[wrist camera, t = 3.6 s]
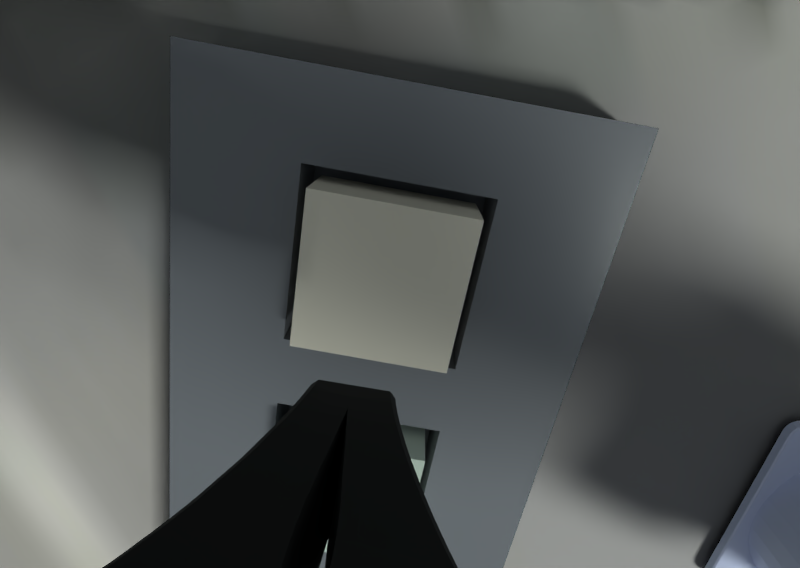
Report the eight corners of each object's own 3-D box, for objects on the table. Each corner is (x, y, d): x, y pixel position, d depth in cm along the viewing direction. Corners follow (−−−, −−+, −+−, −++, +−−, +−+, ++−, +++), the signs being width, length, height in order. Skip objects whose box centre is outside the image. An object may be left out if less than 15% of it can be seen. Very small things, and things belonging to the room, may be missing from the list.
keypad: (620, 122, 14) (658, 128, 12) (444, 664, 23) (446, 727, 21) (212, 45, 14) (170, 35, 12) (194, 623, 23) (169, 682, 21)
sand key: (475, 203, 14) (484, 220, 12) (443, 340, 15) (446, 373, 14) (322, 175, 14) (306, 187, 12) (305, 315, 15) (289, 345, 13)
